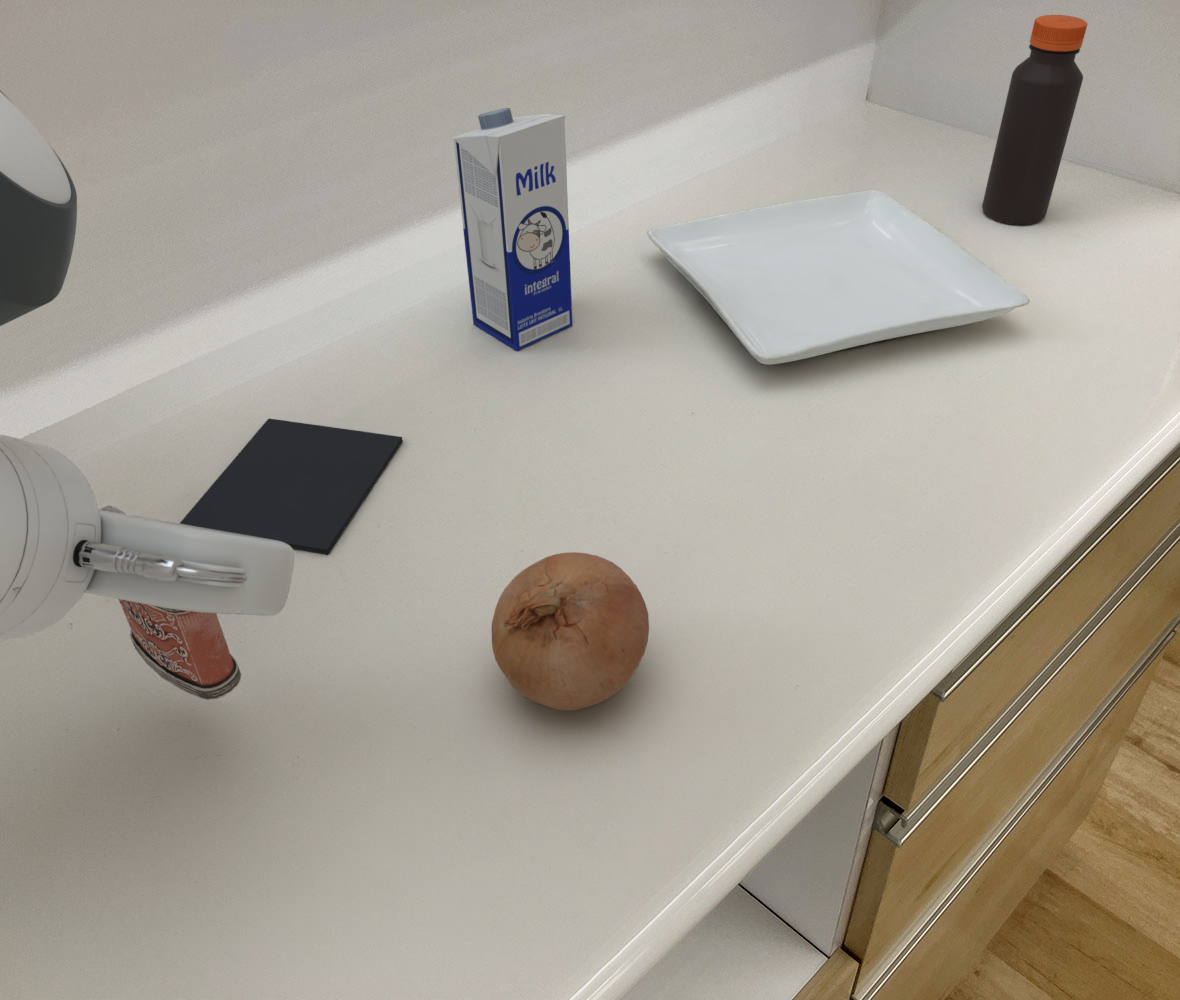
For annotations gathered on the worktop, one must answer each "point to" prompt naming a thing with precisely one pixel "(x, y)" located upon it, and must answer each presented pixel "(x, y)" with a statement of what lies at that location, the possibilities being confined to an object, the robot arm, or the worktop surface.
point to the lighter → (182, 646)
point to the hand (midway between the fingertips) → (172, 554)
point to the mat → (295, 484)
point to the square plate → (832, 274)
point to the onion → (570, 630)
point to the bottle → (1036, 123)
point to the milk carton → (516, 225)
